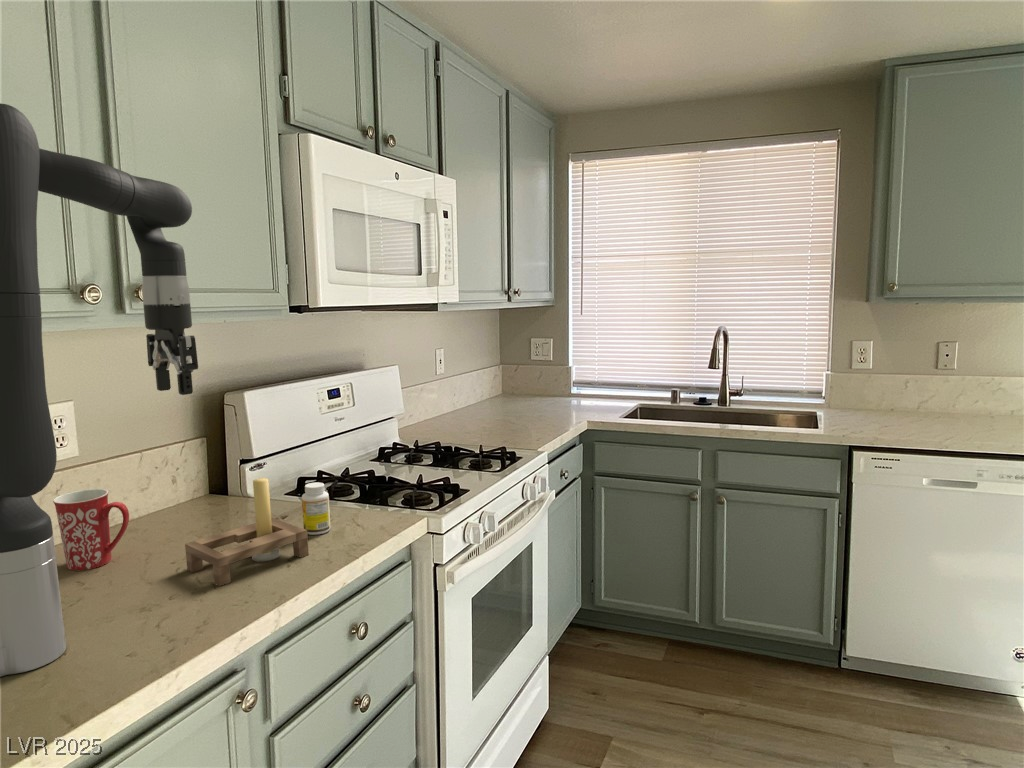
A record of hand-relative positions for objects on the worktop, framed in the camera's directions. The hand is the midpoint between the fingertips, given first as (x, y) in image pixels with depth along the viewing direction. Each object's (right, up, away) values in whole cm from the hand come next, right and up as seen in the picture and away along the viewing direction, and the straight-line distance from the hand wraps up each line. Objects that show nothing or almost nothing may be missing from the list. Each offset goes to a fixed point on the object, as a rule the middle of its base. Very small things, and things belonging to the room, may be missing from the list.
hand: (174, 392), depth 125 cm
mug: (-18, -33, +7) cm, 38 cm away
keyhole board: (+11, -32, +6) cm, 35 cm away
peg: (+13, -32, +9) cm, 36 cm away
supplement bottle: (+19, -30, +23) cm, 42 cm away
